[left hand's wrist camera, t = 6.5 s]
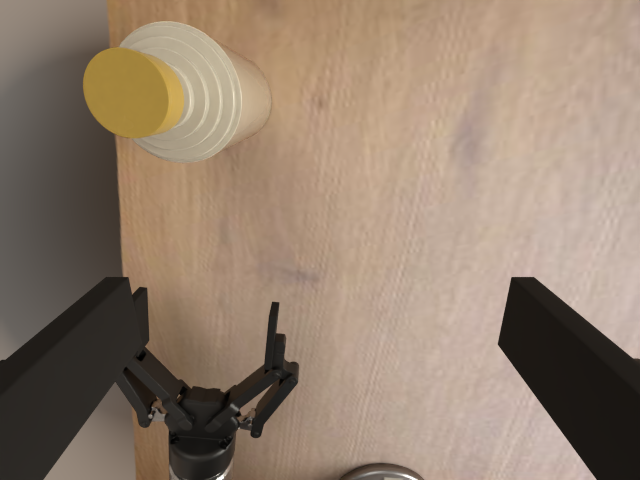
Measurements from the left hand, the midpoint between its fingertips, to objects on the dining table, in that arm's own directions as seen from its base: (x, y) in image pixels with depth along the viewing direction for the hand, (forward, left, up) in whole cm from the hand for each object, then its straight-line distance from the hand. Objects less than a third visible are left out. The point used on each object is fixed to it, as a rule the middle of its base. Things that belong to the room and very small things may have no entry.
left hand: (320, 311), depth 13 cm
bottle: (-4, -10, -28) cm, 30 cm away
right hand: (+15, -7, -21) cm, 27 cm away
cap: (-4, -10, -7) cm, 13 cm away
